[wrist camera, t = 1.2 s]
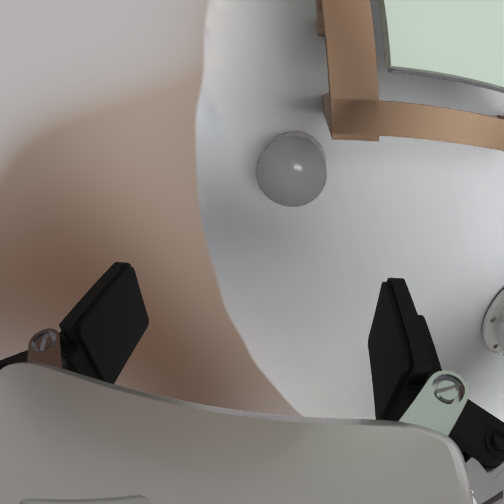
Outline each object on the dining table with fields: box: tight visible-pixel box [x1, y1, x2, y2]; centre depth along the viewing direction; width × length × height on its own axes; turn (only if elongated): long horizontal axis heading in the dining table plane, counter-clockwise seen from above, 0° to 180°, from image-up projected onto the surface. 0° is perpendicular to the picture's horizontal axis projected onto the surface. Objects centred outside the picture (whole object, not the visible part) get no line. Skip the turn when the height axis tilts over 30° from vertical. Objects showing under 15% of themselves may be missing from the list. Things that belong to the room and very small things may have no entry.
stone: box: [256, 131, 327, 207], centre depth 25 cm, size 5×5×5 cm
